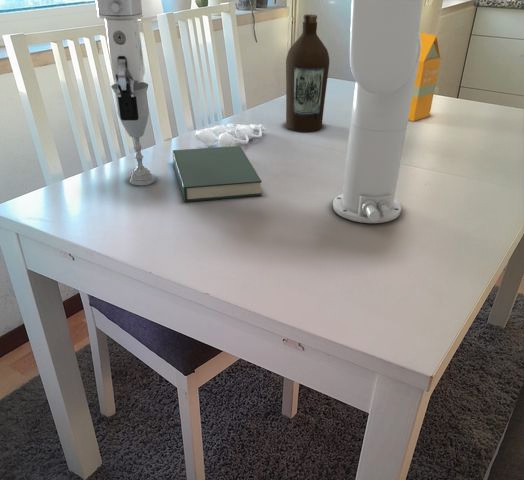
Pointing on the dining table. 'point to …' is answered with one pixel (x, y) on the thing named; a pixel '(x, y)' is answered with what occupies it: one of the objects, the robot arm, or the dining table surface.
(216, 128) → the tangled rod sculpture
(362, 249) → the dining table surface
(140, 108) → the chalice
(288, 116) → the olive oil
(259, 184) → the book
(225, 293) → the dining table surface
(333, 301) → the dining table surface
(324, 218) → the dining table surface
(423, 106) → the orange juice
